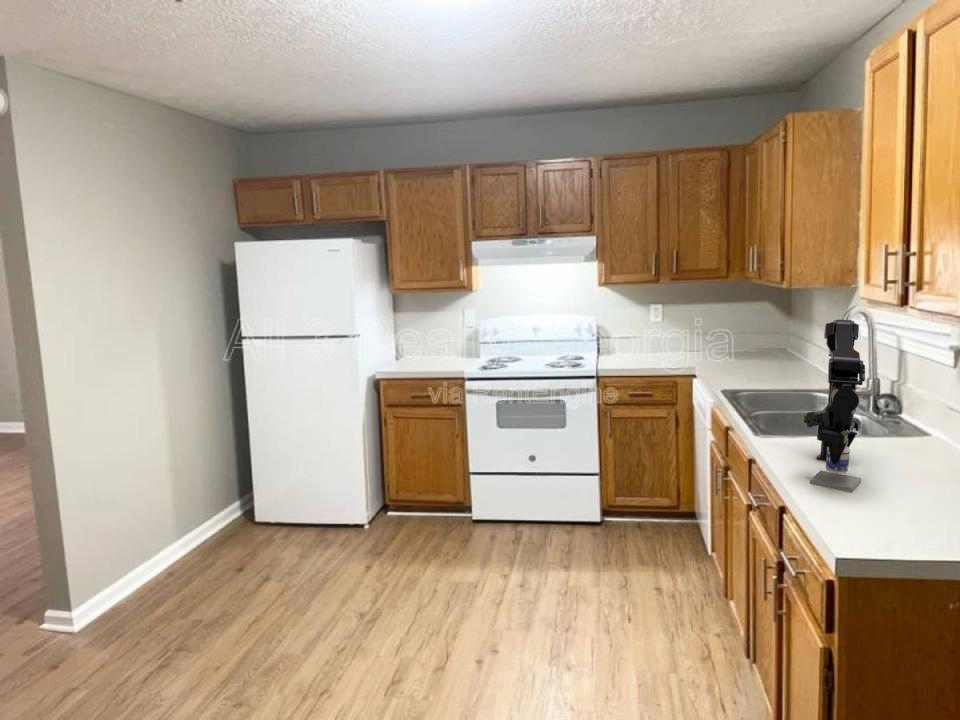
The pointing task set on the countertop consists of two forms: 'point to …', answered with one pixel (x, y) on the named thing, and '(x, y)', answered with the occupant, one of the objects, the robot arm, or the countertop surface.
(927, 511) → the countertop surface
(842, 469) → the pill bottle
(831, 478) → the ceramic coaster
